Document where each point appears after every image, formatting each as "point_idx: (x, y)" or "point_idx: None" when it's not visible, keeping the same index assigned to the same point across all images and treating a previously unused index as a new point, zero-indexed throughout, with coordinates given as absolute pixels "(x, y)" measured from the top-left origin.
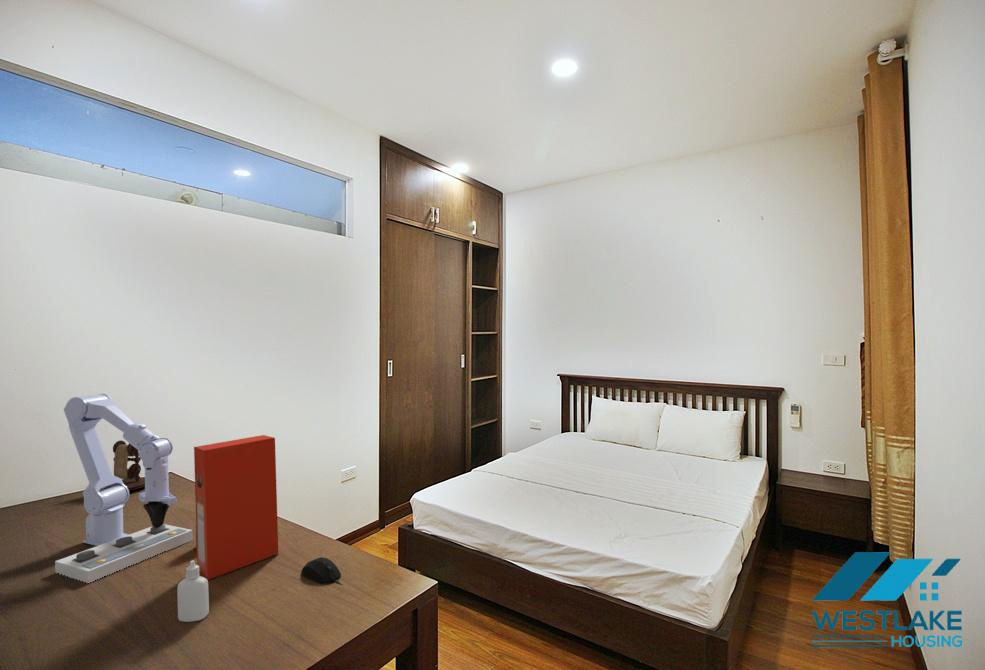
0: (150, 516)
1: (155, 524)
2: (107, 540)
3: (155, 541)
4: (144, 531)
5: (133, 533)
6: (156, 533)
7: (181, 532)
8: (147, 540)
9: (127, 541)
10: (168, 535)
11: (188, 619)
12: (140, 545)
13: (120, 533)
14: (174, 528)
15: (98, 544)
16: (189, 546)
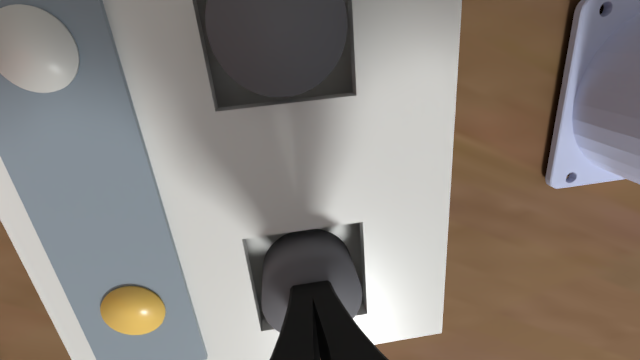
0: (346, 346)
1: (288, 304)
2: (603, 58)
3: (41, 182)
4: (398, 228)
5: (441, 171)
6: (271, 256)
7: (92, 346)
8: (136, 158)
9: (210, 28)
10: (106, 282)
11: None
12: (31, 67)
13: (598, 147)
14: (244, 347)
15: (622, 3)
16: (20, 295)
